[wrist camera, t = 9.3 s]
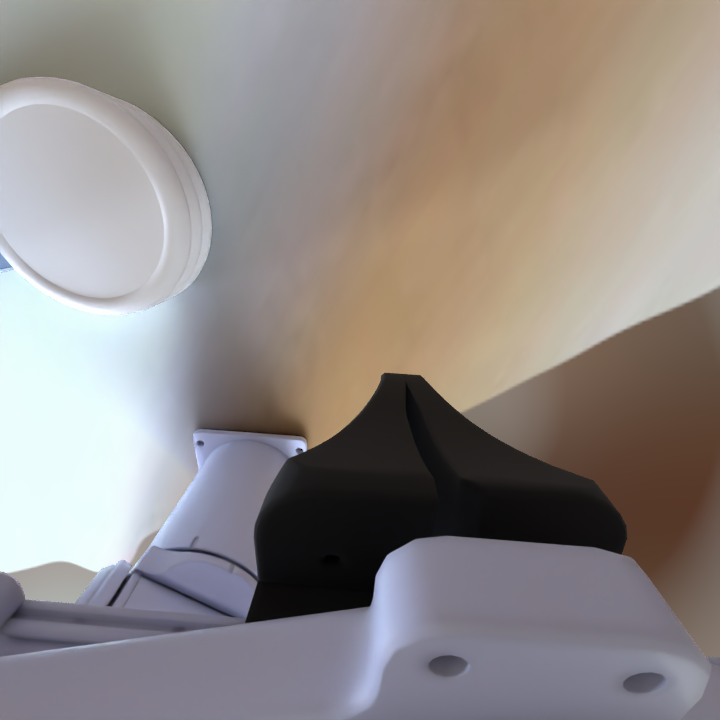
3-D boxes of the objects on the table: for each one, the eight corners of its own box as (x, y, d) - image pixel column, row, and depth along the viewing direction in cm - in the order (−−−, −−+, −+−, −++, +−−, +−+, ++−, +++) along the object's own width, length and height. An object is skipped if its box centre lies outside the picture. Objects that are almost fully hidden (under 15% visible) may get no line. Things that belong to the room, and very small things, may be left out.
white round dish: (6, 78, 16) (-84, 48, 13) (214, 116, 17) (176, 97, 14) (50, 284, 21) (-9, 300, 17) (217, 313, 21) (188, 333, 18)
